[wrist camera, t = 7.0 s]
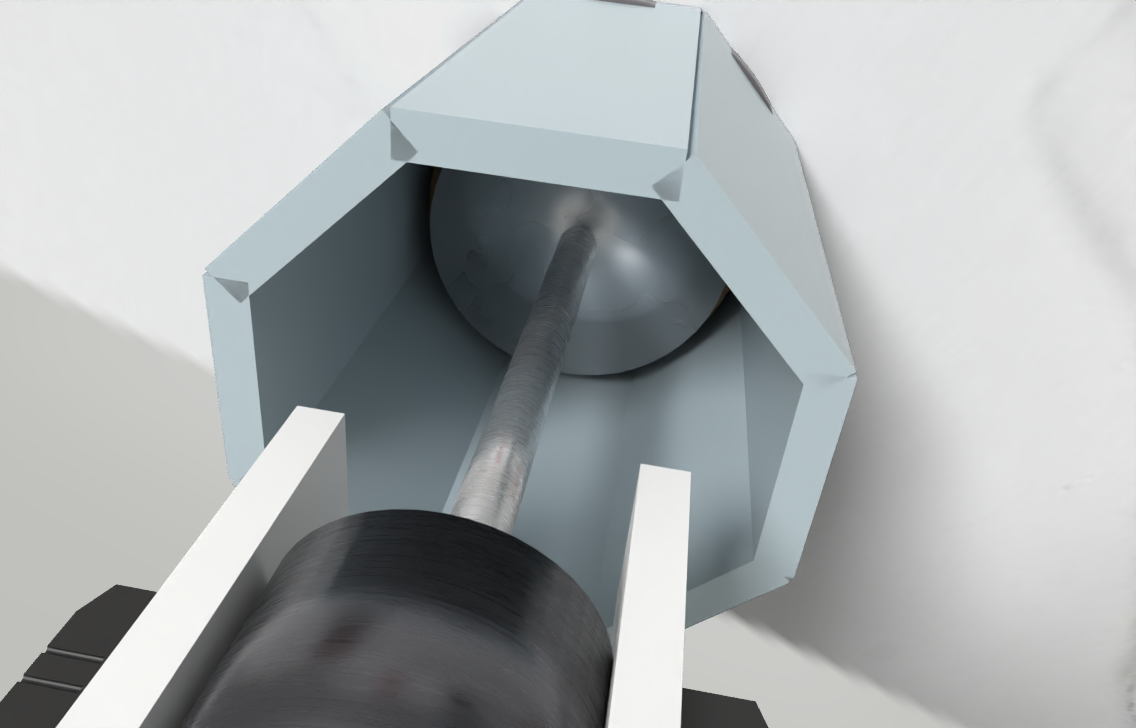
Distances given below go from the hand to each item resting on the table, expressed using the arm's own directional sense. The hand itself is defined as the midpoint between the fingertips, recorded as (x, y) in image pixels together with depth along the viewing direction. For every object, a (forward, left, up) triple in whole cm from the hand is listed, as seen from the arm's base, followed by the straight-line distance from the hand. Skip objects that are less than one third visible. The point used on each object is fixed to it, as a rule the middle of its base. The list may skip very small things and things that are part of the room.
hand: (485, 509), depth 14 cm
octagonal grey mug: (+2, 0, -15) cm, 15 cm away
